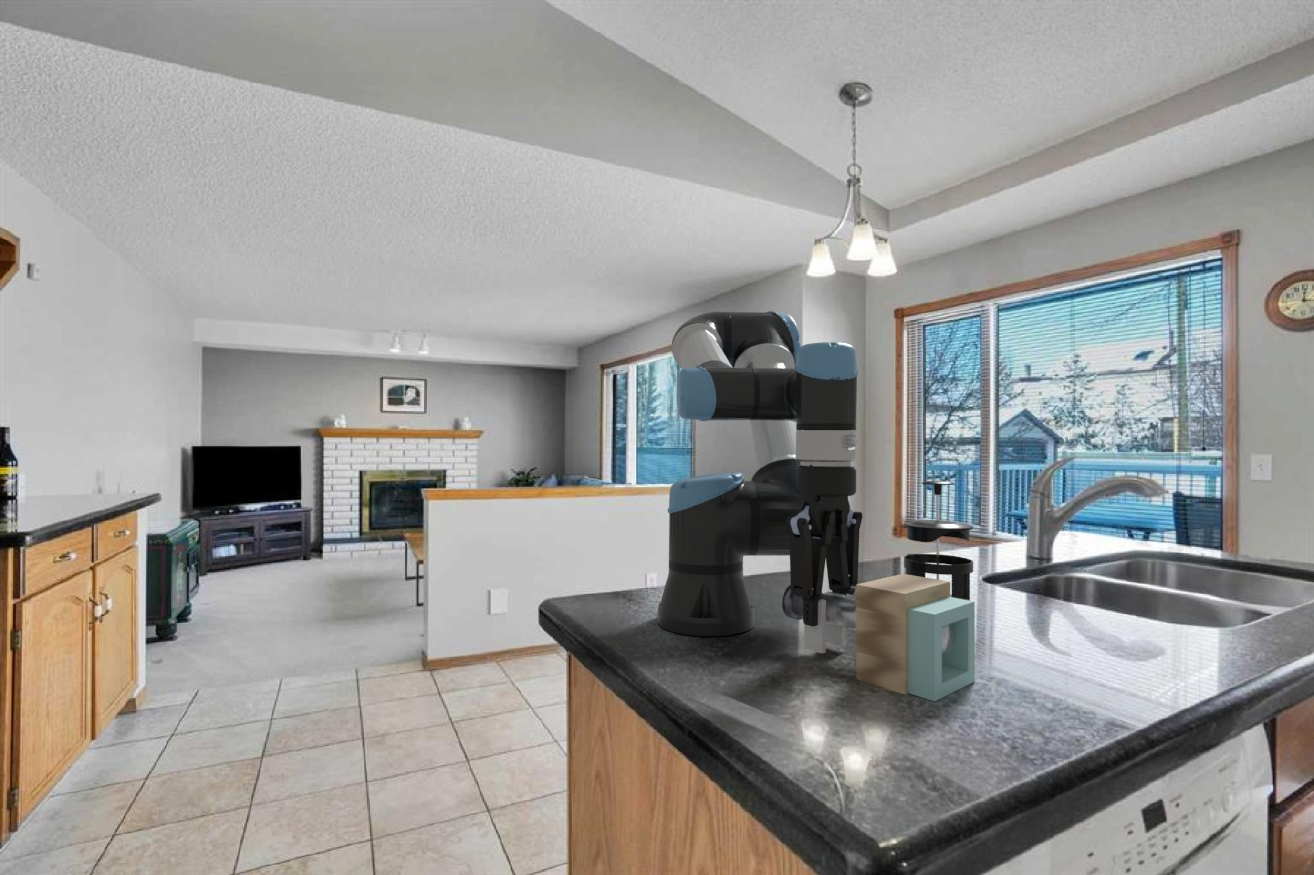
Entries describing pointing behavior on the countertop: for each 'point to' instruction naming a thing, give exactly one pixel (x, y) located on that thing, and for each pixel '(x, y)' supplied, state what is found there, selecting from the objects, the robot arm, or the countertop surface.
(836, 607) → the shaft
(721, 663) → the countertop surface
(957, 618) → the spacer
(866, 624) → the housing
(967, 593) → the french press
